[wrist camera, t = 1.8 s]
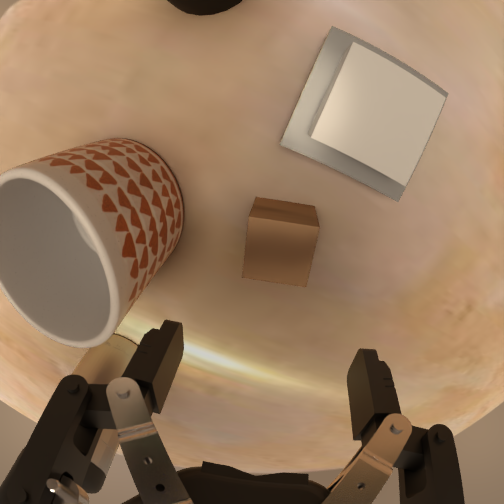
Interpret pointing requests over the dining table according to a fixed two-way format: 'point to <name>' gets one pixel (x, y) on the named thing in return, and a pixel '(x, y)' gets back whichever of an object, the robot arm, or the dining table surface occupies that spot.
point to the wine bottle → (204, 6)
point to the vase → (85, 236)
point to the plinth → (310, 107)
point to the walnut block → (280, 242)
